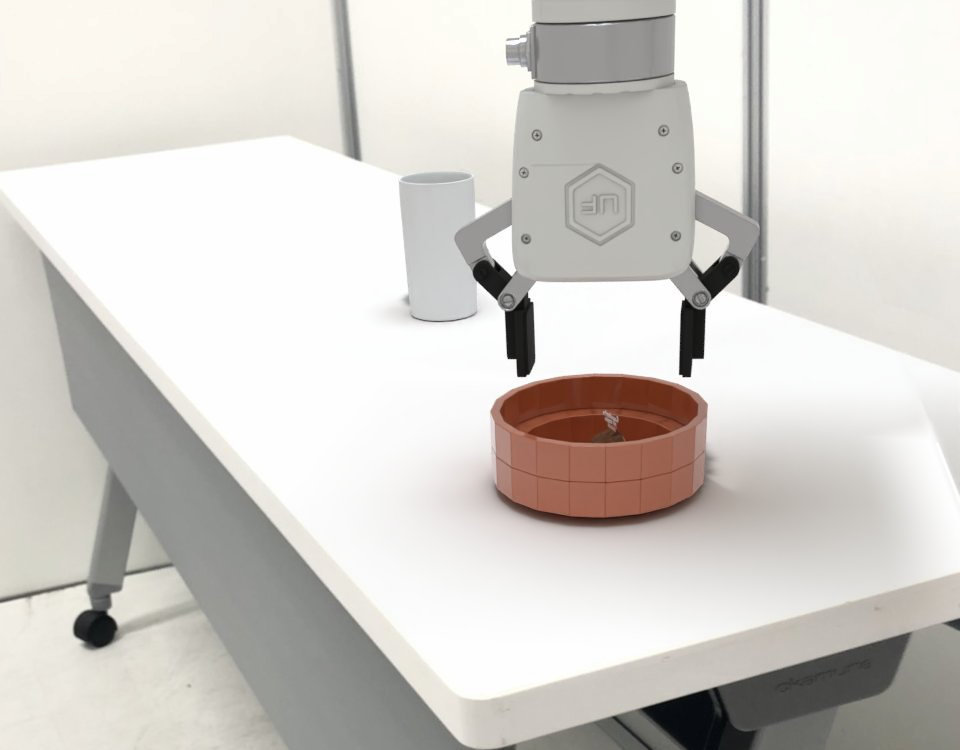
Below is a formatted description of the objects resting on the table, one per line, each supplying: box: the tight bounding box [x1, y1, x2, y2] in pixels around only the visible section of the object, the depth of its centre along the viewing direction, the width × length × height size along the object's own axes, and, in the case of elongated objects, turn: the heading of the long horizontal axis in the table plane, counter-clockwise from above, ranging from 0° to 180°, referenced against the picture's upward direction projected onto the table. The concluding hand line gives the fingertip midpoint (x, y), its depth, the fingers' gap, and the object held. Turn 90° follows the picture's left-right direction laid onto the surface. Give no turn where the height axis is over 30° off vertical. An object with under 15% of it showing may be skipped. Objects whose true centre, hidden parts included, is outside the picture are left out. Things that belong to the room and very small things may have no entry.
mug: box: [398, 170, 478, 322], centre depth 112 cm, size 10×7×12 cm, turn 164°
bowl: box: [489, 372, 709, 519], centre depth 76 cm, size 13×13×5 cm
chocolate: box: [590, 410, 625, 443], centre depth 76 cm, size 3×2×4 cm
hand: (605, 370), depth 73 cm, fingers open, 9 cm apart
